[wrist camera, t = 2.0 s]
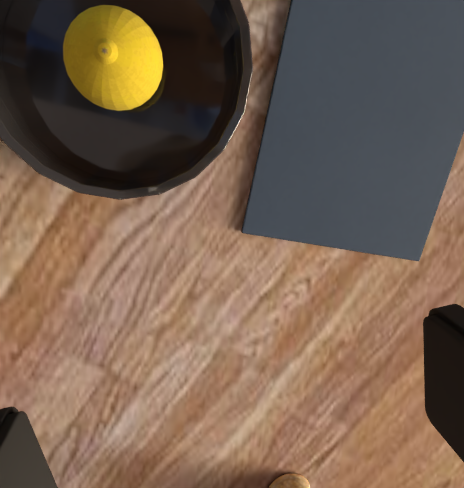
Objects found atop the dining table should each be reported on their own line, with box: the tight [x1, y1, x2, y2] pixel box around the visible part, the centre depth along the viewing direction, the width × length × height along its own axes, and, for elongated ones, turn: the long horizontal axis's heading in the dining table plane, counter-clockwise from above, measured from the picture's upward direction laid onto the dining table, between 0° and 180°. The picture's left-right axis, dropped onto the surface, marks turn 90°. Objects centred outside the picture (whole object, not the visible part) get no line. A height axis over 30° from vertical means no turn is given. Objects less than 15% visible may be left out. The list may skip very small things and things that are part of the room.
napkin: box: [242, 0, 464, 261], centre depth 31 cm, size 16×20×1 cm
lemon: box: [63, 5, 163, 111], centre depth 24 cm, size 6×6×8 cm
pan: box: [0, 0, 253, 200], centre depth 25 cm, size 16×16×4 cm
